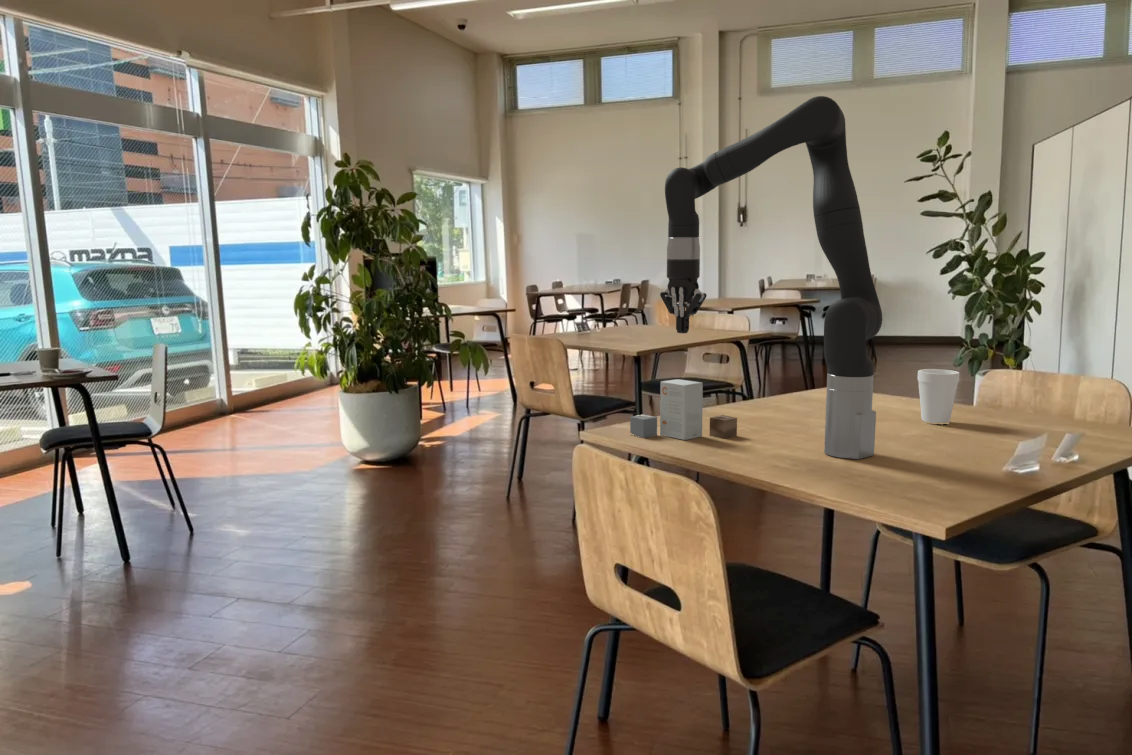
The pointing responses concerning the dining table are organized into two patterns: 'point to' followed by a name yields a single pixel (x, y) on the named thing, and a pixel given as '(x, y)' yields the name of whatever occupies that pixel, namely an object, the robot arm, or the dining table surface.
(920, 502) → the dining table surface
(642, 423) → the slate block seven
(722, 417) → the walnut block one
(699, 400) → the small box
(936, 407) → the foam cup
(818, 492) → the dining table surface
